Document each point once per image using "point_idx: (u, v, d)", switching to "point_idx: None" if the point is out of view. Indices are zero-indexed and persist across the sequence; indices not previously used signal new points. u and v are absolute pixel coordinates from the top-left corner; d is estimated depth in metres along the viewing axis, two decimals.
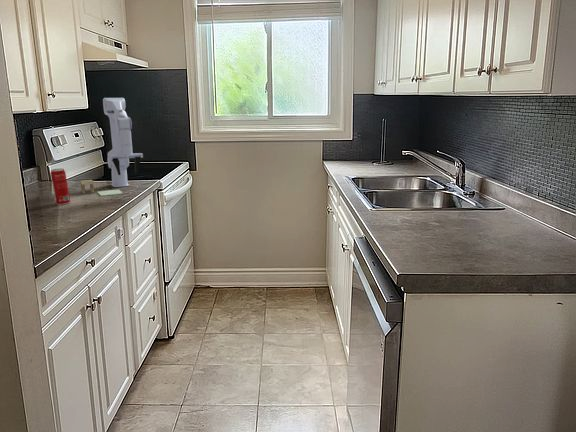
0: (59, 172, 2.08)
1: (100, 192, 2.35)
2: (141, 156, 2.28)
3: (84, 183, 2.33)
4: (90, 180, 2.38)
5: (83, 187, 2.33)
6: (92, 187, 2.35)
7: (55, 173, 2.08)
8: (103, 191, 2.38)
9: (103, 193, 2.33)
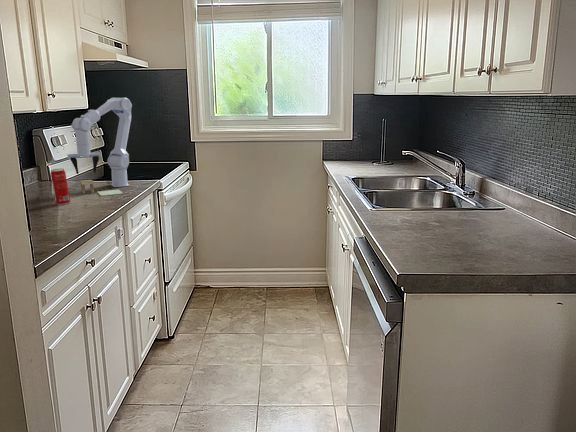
0: (59, 172, 2.08)
1: (100, 192, 2.35)
2: (99, 155, 2.35)
3: (84, 183, 2.33)
4: (90, 180, 2.38)
5: (83, 187, 2.33)
6: (92, 187, 2.35)
7: (55, 173, 2.08)
8: (103, 191, 2.38)
9: (103, 193, 2.33)
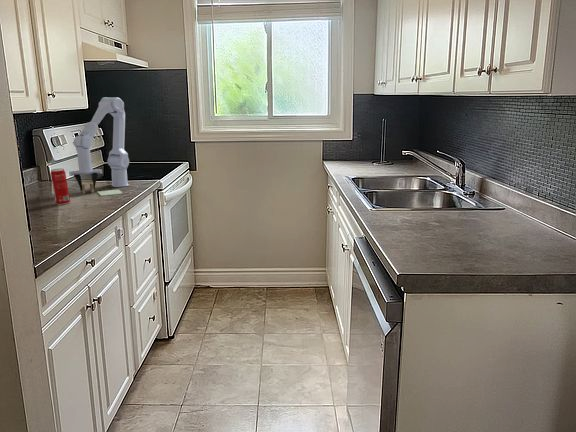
0: (59, 172, 2.08)
1: (100, 192, 2.35)
2: (100, 172, 2.37)
3: (84, 183, 2.33)
4: (90, 180, 2.38)
5: (83, 187, 2.33)
6: (92, 187, 2.35)
7: (55, 173, 2.08)
8: (103, 191, 2.38)
9: (103, 193, 2.33)
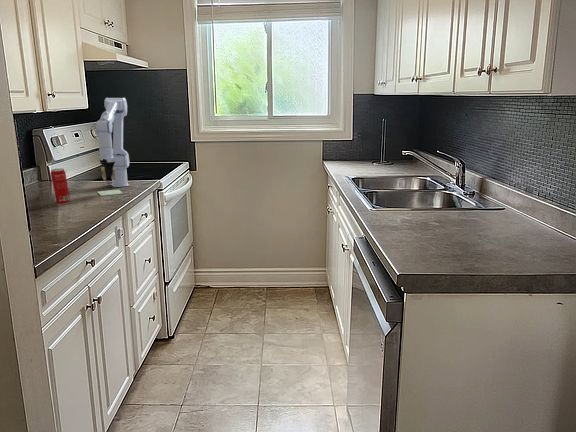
0: (59, 172, 2.08)
1: (100, 192, 2.35)
2: (107, 160, 2.26)
3: (101, 168, 2.33)
4: None
5: None
6: (103, 174, 2.30)
7: (55, 173, 2.08)
8: (103, 191, 2.38)
9: (103, 193, 2.33)
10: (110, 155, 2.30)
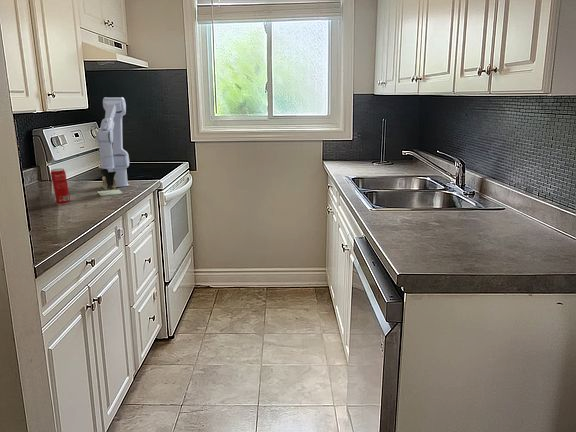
0: (59, 172, 2.08)
1: (100, 192, 2.35)
2: (108, 170, 2.27)
3: (102, 178, 2.34)
4: None
5: None
6: (104, 184, 2.32)
7: (55, 173, 2.08)
8: (103, 191, 2.38)
9: (103, 193, 2.33)
10: (111, 165, 2.31)
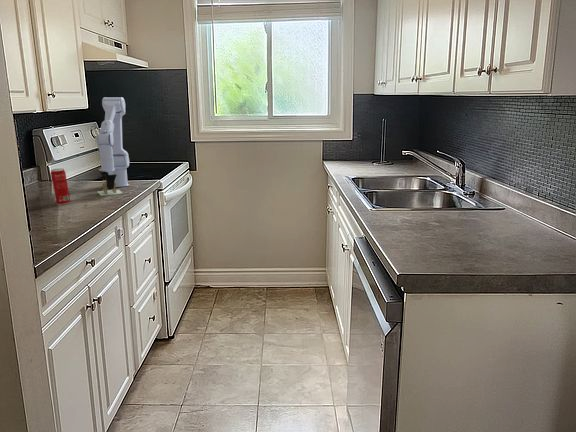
0: (59, 172, 2.08)
1: (100, 192, 2.35)
2: (108, 173, 2.27)
3: None
4: None
5: (103, 185, 2.35)
6: (104, 188, 2.32)
7: (55, 173, 2.08)
8: (103, 191, 2.38)
9: (103, 193, 2.33)
10: (111, 167, 2.31)
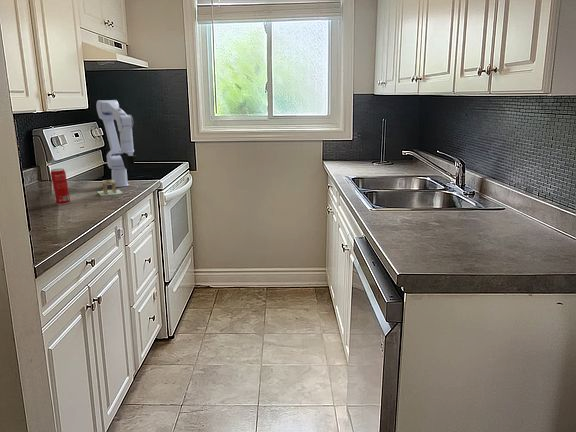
0: (59, 172, 2.08)
1: (100, 192, 2.35)
2: (128, 154, 2.31)
3: None
4: (111, 181, 2.33)
5: (103, 185, 2.35)
6: (104, 188, 2.32)
7: (55, 173, 2.08)
8: (103, 191, 2.38)
9: (103, 193, 2.33)
10: (131, 149, 2.35)
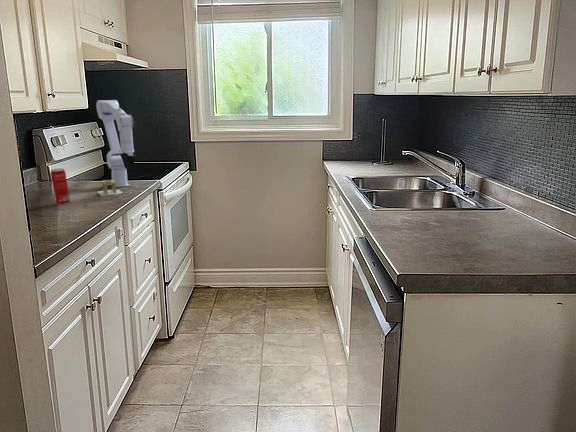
0: (59, 172, 2.08)
1: (100, 192, 2.35)
2: (128, 154, 2.31)
3: None
4: (111, 181, 2.33)
5: (103, 185, 2.35)
6: (104, 188, 2.32)
7: (55, 173, 2.08)
8: (103, 191, 2.38)
9: (103, 193, 2.33)
10: (131, 149, 2.35)
